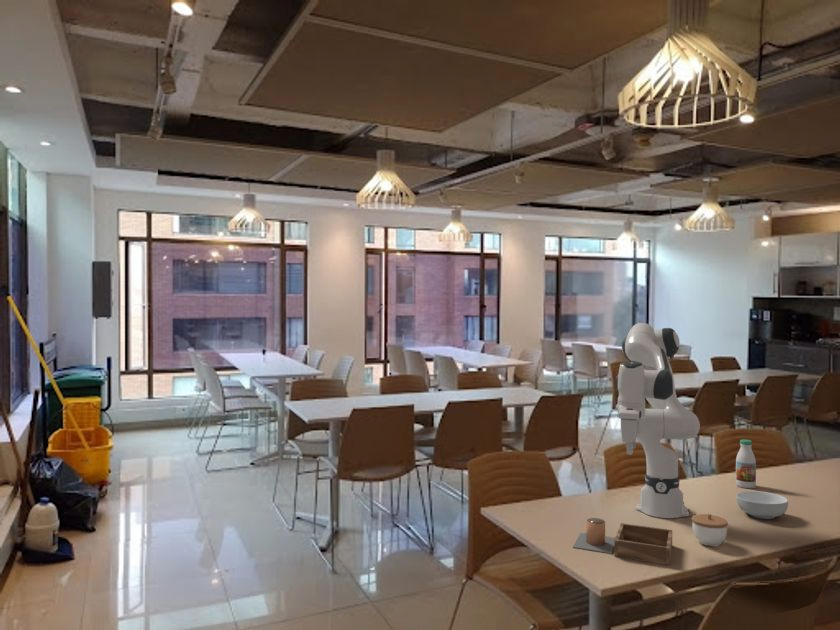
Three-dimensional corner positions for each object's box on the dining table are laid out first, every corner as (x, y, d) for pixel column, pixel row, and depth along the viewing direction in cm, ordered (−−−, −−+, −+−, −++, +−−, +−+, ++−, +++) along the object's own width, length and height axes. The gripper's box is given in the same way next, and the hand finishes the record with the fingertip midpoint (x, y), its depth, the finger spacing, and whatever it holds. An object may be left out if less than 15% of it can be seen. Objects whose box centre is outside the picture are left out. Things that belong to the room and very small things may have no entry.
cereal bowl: (763, 507, 242) (763, 489, 242) (799, 521, 226) (799, 501, 226) (726, 510, 238) (726, 492, 238) (759, 525, 222) (759, 505, 222)
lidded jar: (717, 536, 211) (717, 509, 210) (734, 549, 200) (734, 519, 200) (685, 537, 210) (685, 509, 210) (701, 549, 199) (701, 520, 199)
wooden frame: (620, 537, 209) (620, 523, 209) (672, 545, 203) (672, 530, 203) (614, 556, 194) (614, 540, 194) (669, 564, 187) (669, 548, 187)
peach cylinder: (587, 537, 208) (587, 516, 208) (606, 540, 206) (606, 519, 206) (584, 544, 203) (584, 522, 203) (603, 546, 201) (603, 525, 200)
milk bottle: (731, 484, 274) (732, 438, 274) (748, 483, 275) (748, 438, 275) (742, 489, 266) (743, 442, 266) (759, 488, 267) (760, 441, 267)
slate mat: (580, 533, 213) (580, 532, 213) (617, 538, 208) (617, 538, 208) (572, 547, 201) (572, 546, 201) (611, 553, 196) (611, 552, 196)
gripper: (624, 405, 220) (624, 444, 220) (617, 413, 201) (617, 456, 201) (643, 406, 217) (643, 445, 217) (638, 415, 199) (638, 458, 199)
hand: (631, 451), depth 209 cm, fingers open, 8 cm apart
